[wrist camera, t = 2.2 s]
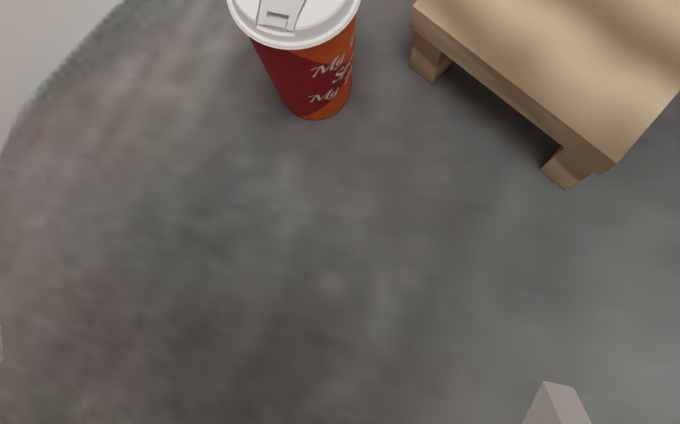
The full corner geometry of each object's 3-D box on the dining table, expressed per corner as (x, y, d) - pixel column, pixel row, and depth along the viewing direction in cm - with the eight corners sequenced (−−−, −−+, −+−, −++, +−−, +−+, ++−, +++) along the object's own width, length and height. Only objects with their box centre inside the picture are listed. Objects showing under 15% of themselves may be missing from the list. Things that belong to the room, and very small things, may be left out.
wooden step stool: (530, -67, 43) (566, -152, 36) (694, 48, 41) (772, -18, 33) (403, 65, 41) (412, 5, 34) (566, 196, 39) (616, 163, 31)
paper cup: (350, 143, 40) (342, 50, 27) (256, 121, 41) (201, 20, 27) (374, 53, 42) (378, -79, 28) (283, 34, 43) (244, -103, 29)
